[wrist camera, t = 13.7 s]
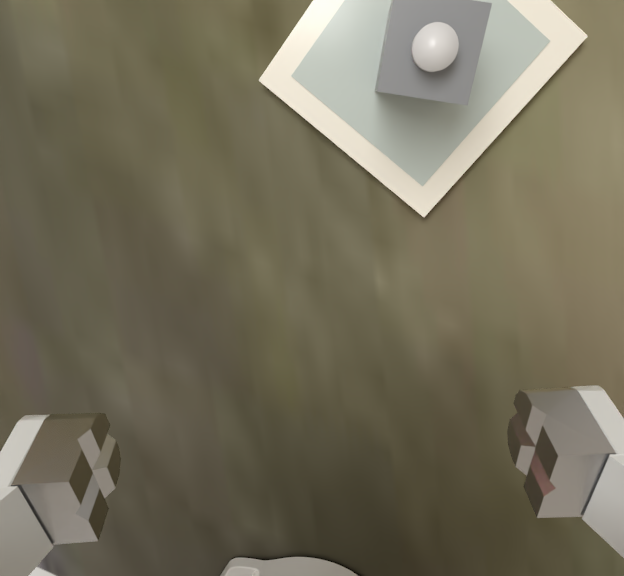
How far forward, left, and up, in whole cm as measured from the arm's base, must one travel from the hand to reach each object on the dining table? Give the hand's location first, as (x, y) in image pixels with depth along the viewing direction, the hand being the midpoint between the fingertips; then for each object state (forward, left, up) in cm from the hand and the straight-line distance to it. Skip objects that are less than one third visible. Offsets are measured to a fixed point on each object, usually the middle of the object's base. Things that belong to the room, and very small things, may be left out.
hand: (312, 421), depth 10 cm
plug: (+9, +2, -26) cm, 28 cm away
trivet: (+9, +2, -28) cm, 29 cm away
